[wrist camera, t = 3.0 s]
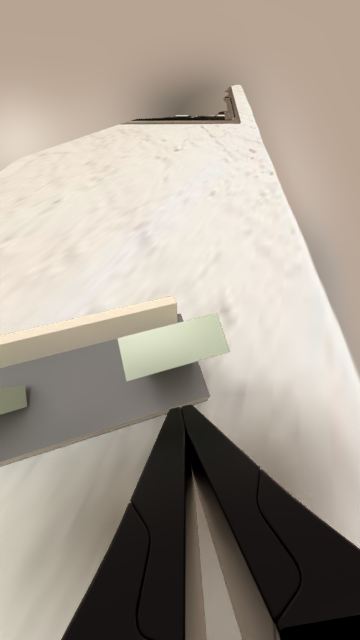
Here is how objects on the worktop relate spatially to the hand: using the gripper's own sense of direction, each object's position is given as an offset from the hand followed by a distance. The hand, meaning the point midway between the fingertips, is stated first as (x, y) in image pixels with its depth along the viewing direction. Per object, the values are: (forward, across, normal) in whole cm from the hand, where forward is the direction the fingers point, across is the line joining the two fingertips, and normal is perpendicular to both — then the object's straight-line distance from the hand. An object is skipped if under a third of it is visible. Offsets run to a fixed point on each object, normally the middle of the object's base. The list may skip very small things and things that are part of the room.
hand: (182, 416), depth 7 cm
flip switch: (+9, 0, +2) cm, 10 cm away
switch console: (+10, +7, +3) cm, 13 cm away
